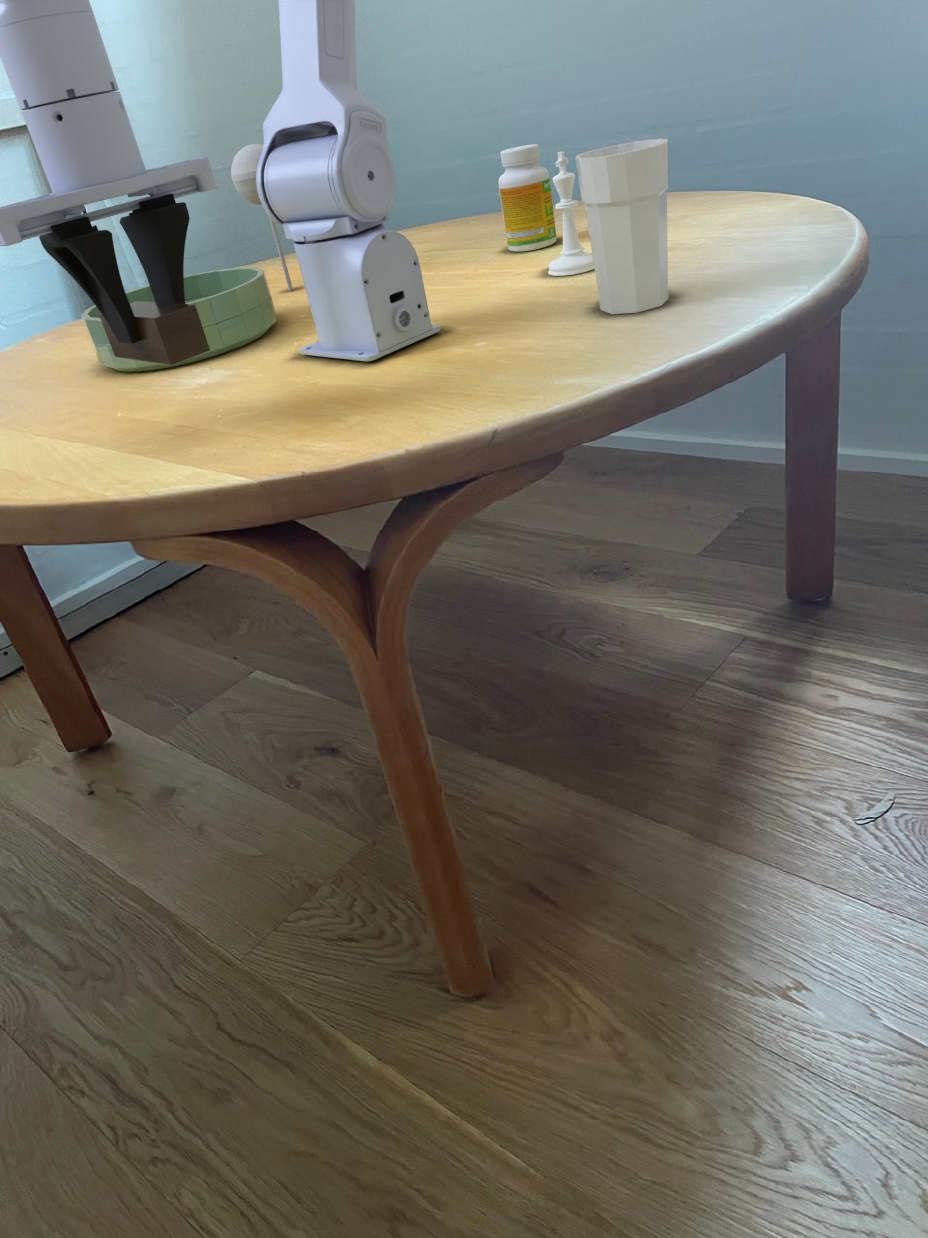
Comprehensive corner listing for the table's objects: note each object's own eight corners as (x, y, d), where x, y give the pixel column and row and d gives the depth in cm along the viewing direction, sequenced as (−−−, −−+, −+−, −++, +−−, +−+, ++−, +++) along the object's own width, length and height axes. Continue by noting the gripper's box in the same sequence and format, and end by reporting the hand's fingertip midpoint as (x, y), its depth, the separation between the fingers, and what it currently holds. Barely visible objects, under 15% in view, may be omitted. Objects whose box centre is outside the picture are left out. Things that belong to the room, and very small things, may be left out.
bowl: (312, 320, 88) (298, 266, 85) (156, 381, 78) (135, 323, 76) (219, 314, 99) (204, 266, 96) (73, 367, 90) (52, 315, 87)
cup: (640, 319, 67) (626, 154, 62) (574, 314, 72) (556, 161, 66) (695, 293, 71) (687, 135, 65) (629, 290, 75) (616, 142, 70)
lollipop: (305, 293, 100) (265, 142, 93) (257, 300, 102) (213, 152, 94) (323, 279, 105) (287, 135, 98) (277, 287, 107) (237, 145, 99)
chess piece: (609, 260, 86) (597, 143, 81) (586, 274, 83) (573, 153, 78) (563, 263, 89) (549, 150, 84) (539, 277, 86) (523, 160, 80)
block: (211, 350, 60) (195, 303, 58) (171, 365, 58) (154, 318, 56) (152, 343, 65) (137, 300, 63) (114, 357, 63) (97, 313, 62)
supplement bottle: (559, 245, 97) (546, 144, 92) (508, 255, 97) (493, 155, 92) (555, 237, 101) (543, 140, 96) (507, 246, 102) (493, 150, 97)
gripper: (147, 89, 60) (214, 298, 67) (-75, 132, 52) (27, 364, 59) (201, 74, 56) (267, 301, 63) (-33, 119, 48) (72, 373, 55)
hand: (154, 332), depth 61 cm, fingers closed on block, 3 cm apart
